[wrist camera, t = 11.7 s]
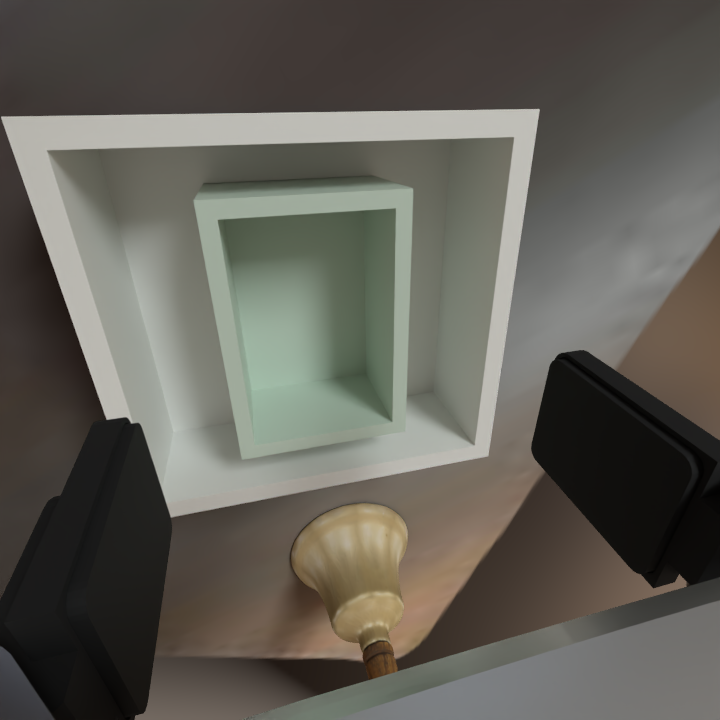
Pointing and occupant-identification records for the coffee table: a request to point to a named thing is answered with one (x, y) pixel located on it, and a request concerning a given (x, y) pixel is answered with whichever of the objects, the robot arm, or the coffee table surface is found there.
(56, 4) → the coffee table surface
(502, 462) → the coffee table surface
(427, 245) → the big crate
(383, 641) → the hand bell
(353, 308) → the small crate
